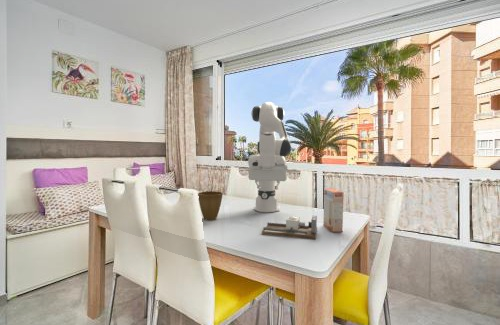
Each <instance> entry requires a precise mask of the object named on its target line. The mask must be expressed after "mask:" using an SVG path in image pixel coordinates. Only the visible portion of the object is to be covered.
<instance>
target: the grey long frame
mask: <svg viewBox="0 0 500 325" xmlns="http://www.w3.org/2000/svg"><path fill="white" fill-rule="evenodd" d="M317 219H318V215H312V217H311V221H308V225H305V226H300V227H299V228H307V229H309V228H311V234H316V235H317V232H316V230H317V231H318V226H317V225H318V224H317V223H318V222H317V221H318V220H317ZM267 225H272V226H283V227H286V223H278V222H267V223H266V226H267ZM266 226H263V228H262V231H263V230H273V231H284V232H295V233H305V234H307V231H303V230H290V229H280V228H269V227H266Z"/></svg>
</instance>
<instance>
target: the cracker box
mask: <svg viewBox="0 0 500 325" xmlns="http://www.w3.org/2000/svg"><path fill="white" fill-rule="evenodd" d="M323 192H324V193H323V221H322V222H323V224H322V225H323V226H324V227H325V228H326V229H328V230H329V231H330V232H331V233H342V232H343V224H344V218H343V217H344V192H343V191H340V190H338V189H336V188H324V189H323Z"/></svg>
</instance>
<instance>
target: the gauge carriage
mask: <svg viewBox="0 0 500 325" xmlns="http://www.w3.org/2000/svg"><path fill="white" fill-rule="evenodd" d="M300 220H301V219H300V217H299V216H287V218H286V219H285V224H286V229H290V230H298V229H299V227H300V226H306V222H300Z"/></svg>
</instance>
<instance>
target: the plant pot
mask: <svg viewBox="0 0 500 325" xmlns="http://www.w3.org/2000/svg"><path fill="white" fill-rule="evenodd" d="M197 196H199V198H198V203H199V208H200V211H201V215H202V217H203V219H204V220H205V221H215V220H217V218H218V215H219V211H220V210H221V209H220V208H221V204H222V199H223V192H222V191H214V190H213V191H212V190H211V191H210V190H208V191H200V192H198V193H197Z"/></svg>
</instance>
